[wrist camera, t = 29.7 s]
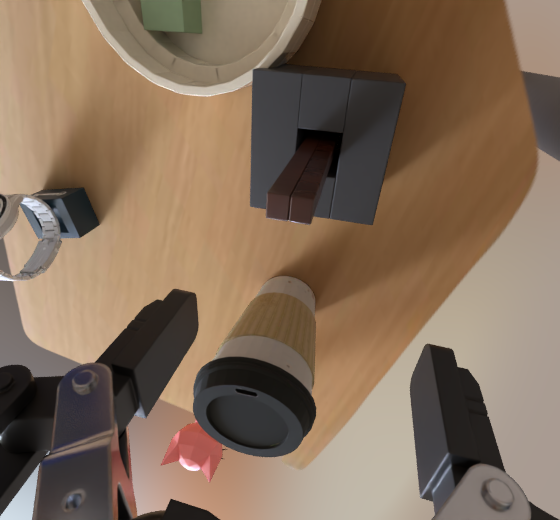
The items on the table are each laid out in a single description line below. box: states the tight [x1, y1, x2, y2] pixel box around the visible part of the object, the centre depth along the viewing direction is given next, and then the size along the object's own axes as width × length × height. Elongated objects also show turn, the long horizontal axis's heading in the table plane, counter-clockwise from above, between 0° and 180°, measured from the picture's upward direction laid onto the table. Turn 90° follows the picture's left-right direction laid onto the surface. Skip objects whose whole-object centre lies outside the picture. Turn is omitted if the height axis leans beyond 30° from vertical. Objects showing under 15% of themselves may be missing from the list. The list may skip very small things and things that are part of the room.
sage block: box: [140, 0, 202, 34], centre depth 24 cm, size 3×3×3 cm
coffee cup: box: [193, 276, 316, 457], centre depth 31 cm, size 10×10×15 cm
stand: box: [250, 64, 406, 225], centre depth 25 cm, size 9×9×7 cm
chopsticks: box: [266, 130, 341, 225], centre depth 21 cm, size 2×1×16 cm, turn 86°
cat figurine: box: [161, 420, 225, 482], centre depth 44 cm, size 7×7×12 cm
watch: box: [0, 188, 100, 281], centre depth 33 cm, size 6×8×11 cm
